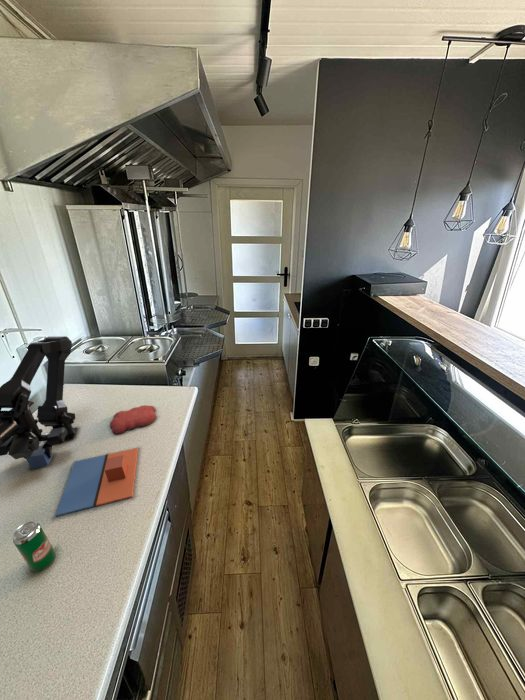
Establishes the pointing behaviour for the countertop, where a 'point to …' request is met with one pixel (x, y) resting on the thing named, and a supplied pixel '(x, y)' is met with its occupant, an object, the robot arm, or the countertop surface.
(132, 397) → the countertop surface
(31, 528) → the soda can
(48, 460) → the slate-blue block
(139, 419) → the red lumpy blob
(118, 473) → the terracotta block
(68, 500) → the sorting mat
